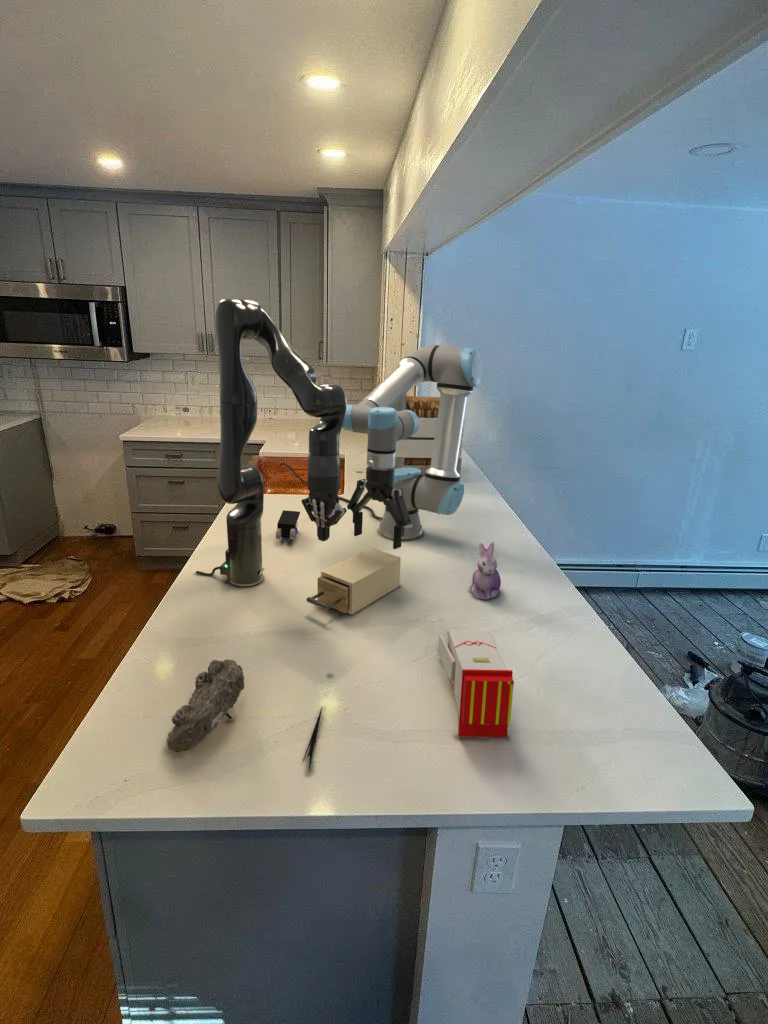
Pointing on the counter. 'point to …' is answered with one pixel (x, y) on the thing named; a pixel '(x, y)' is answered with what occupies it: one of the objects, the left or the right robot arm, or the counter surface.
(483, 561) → the figurine
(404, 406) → the white slatted crate
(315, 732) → the feather
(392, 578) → the cabinet
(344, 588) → the drawer
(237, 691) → the fossil
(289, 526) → the black wheeled vehicle
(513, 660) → the counter surface
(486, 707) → the toy
